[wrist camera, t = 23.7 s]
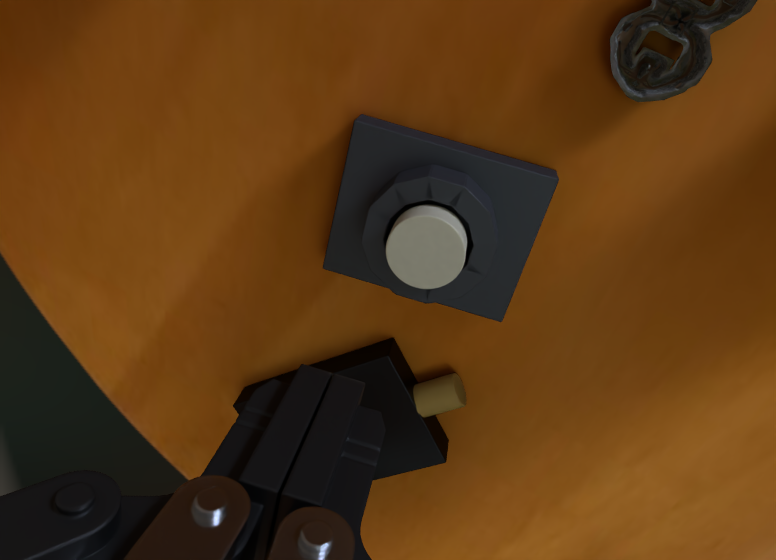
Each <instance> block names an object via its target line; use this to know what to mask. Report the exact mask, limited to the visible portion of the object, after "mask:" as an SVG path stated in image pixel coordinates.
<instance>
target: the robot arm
mask: <svg viewBox="0 0 776 560" xmlns="http://www.w3.org/2000/svg"><path fill="white" fill-rule="evenodd" d="M332 377H333V378H332ZM364 387H365V383H364V382H361V381H358V380H354V379H351V378H348V377H344V376H341V375H338V374H334V376H333V373H331V372H327V371H324V370H321V369H318V368H314V367H311V366H308V365H304V364H301V366H300V367H299V369H298V371H297V373H296V374H295V376H294V378H293V380H292V382H291V384H288V383H284V382H281V381H278V380H275V379H271V380H270V381H268V382H267V383H265V384H263V385H262V386H260V387H259V388H257V389H256V390H254V392H253V394H252V395H251V397H250V398H249V400H248V402H247V403H246V405H245V407H244V410H242V411H241V413H240V414H239V416H238V418H237V419H236V422H235V423H234V424H233V426H232V427H231V429H230V431H229V432H228V434H227V435H226V437H225V439H224V440H223V442H222V443H221V445H220V447H219V448H218V450H217V451H216V453H215V455H214V456H213V458H212V459H211V461H210V463H209V464H208V466H207V467H206V469H205V471H204V472H203V473H202V475H201V476H200V477H196V478H194V479H191V480H189V481H188V482H186V483H184V484H183V485H182V486H180V487H179V488H178V489H177V490H176V492H175V493H172V494H168V495H162V496H121V491H120V488H119V486H118V485H117V483H116V482H115V481H114V480H113V479H112V478H111V477H109V476H107V475H106V474H103V473H100V472H96V471H88V470H83V471H74V472H69V473H66V474H62V475H59V476H56V477H54V478H51V479H48V480H45V481H42V482H40V483H37V484H34V485H31V486H28V487H26V488H23V489H20V490H17V491H14V492H12V493H9V494H6V495H3V496H0V560H372V559H371V558H370V557H369V555H368V554H367V552H366V550H365V548H364V546H363V543H362V540H361V535H360V526H361V521H362V517H363V513H364V510H365V506H366V502H367V498H368V495H369V491H370V487H371V484H372V480H373V476H374V472H375V469H376V465H377V461H378V457H379V454H380V450H381V446H382V443H383V439H384V435H385V431H386V429H385V425H384V421H383V418H382V414H381V412H380V411H377V410H373V409H370V408H367V407H364V406H360V402H361V399H362V395H363V391H364Z"/></svg>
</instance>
